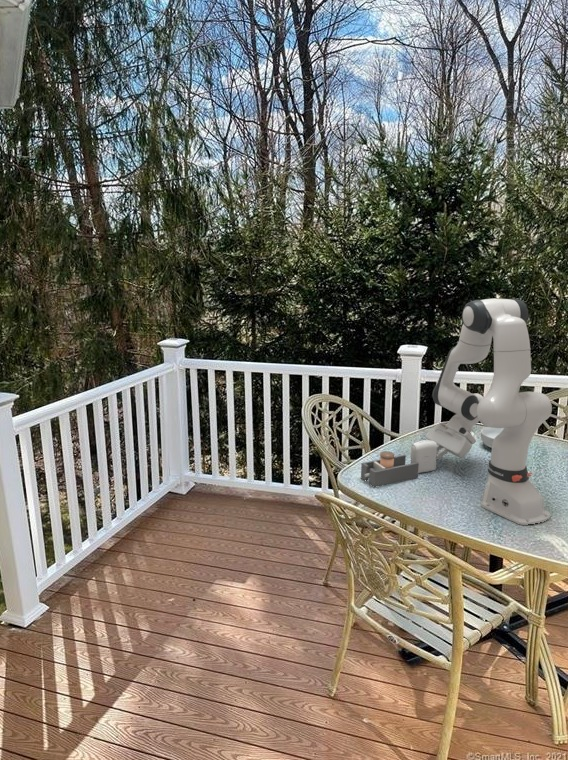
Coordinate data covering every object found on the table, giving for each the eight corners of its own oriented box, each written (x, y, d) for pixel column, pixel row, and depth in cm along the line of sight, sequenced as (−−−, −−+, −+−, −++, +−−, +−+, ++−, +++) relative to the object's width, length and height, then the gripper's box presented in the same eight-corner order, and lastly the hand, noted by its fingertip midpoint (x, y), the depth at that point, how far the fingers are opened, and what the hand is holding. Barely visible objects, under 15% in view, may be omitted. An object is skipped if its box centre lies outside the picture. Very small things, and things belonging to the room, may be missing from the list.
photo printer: (414, 474, 205) (416, 444, 202) (408, 469, 209) (410, 440, 206) (437, 471, 208) (439, 441, 205) (431, 466, 212) (433, 437, 209)
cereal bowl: (471, 444, 235) (472, 429, 233) (499, 438, 241) (500, 423, 240) (501, 458, 220) (502, 442, 218) (530, 451, 227) (532, 436, 225)
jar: (395, 480, 200) (397, 455, 198) (384, 482, 198) (385, 457, 196) (387, 474, 205) (389, 450, 202) (376, 477, 203) (377, 452, 200)
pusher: (384, 482, 198) (385, 467, 196) (369, 486, 195) (370, 470, 194) (375, 475, 203) (375, 461, 202) (360, 479, 201) (361, 464, 199)
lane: (417, 477, 202) (418, 463, 201) (374, 487, 195) (374, 472, 193) (403, 468, 210) (404, 454, 209) (360, 477, 202) (361, 463, 201)
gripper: (435, 417, 218) (414, 443, 217) (471, 433, 200) (448, 462, 199) (443, 425, 221) (422, 451, 220) (479, 442, 203) (457, 471, 202)
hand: (435, 456), depth 209 cm, fingers closed, pressing on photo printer
